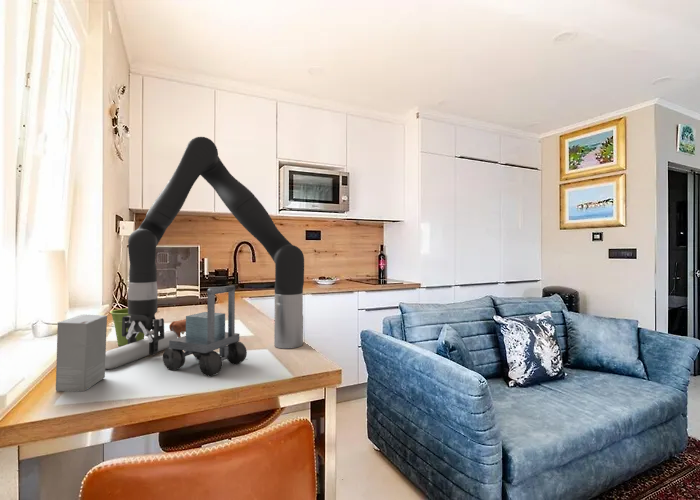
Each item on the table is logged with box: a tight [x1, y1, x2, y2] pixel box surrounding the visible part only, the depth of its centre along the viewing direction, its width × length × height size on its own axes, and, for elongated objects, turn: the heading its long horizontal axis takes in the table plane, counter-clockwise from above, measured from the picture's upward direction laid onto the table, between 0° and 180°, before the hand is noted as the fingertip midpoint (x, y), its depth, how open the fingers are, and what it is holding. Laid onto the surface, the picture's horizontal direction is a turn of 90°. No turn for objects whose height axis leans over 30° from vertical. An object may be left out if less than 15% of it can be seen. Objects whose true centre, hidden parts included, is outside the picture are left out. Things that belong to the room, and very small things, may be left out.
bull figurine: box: [168, 318, 186, 338], centre depth 127 cm, size 4×13×8 cm, turn 148°
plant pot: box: [109, 307, 146, 347], centre depth 120 cm, size 12×12×11 cm
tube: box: [105, 330, 178, 370], centre depth 106 cm, size 5×5×25 cm
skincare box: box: [55, 314, 108, 392], centre depth 84 cm, size 8×7×16 cm
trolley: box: [162, 284, 248, 377], centre depth 98 cm, size 13×18×22 cm
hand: (142, 352), depth 106 cm, fingers open, 8 cm apart
